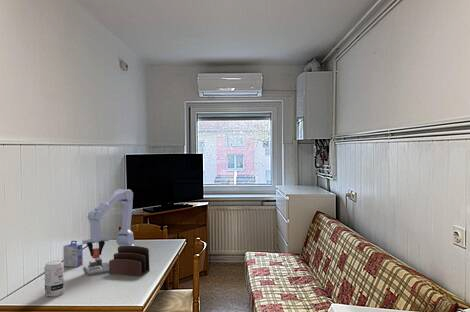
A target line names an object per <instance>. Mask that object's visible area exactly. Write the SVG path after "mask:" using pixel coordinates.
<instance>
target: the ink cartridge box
mask: <svg viewBox="0 0 470 312" xmlns="http://www.w3.org/2000/svg"><path fill="white" fill-rule="evenodd" d="M62 248H63V249H62V251H63V262H62V263H63V265H64V267H76V268H77V267H80V266H83V263H84V260H83V259H84V258H83V255H84V254H83V244H78V241H77V240H71V241H70V243H68V244H65V245H63V247H62Z"/></svg>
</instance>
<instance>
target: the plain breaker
mask: <svg viewBox="0 0 470 312" xmlns="http://www.w3.org/2000/svg"><path fill="white" fill-rule="evenodd" d="M94 261H95V262H96V265H102V263H103V259H102V257H99V258H96V259H94Z"/></svg>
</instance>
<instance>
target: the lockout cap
mask: <svg viewBox="0 0 470 312" xmlns="http://www.w3.org/2000/svg"><path fill="white" fill-rule="evenodd" d="M100 256H101V255H100V253H99V247H94V248H93V256H91V258H92V259H94V260H95V259H98V258H101V257H100Z"/></svg>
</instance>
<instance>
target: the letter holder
mask: <svg viewBox="0 0 470 312" xmlns="http://www.w3.org/2000/svg"><path fill="white" fill-rule="evenodd" d="M108 264H109V273H108V274H109V275H120V276H132V277H142V276H144V275H146V274H147V273H149V272H150V271H151V270H150V250H149V248H148V247H143V246H139V245H137V246H136V245H135V246H120V247H119V246H118V247H117V252H116V253H114V254H113V259H110V260H109V262H108ZM145 273H146V274H145Z"/></svg>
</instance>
